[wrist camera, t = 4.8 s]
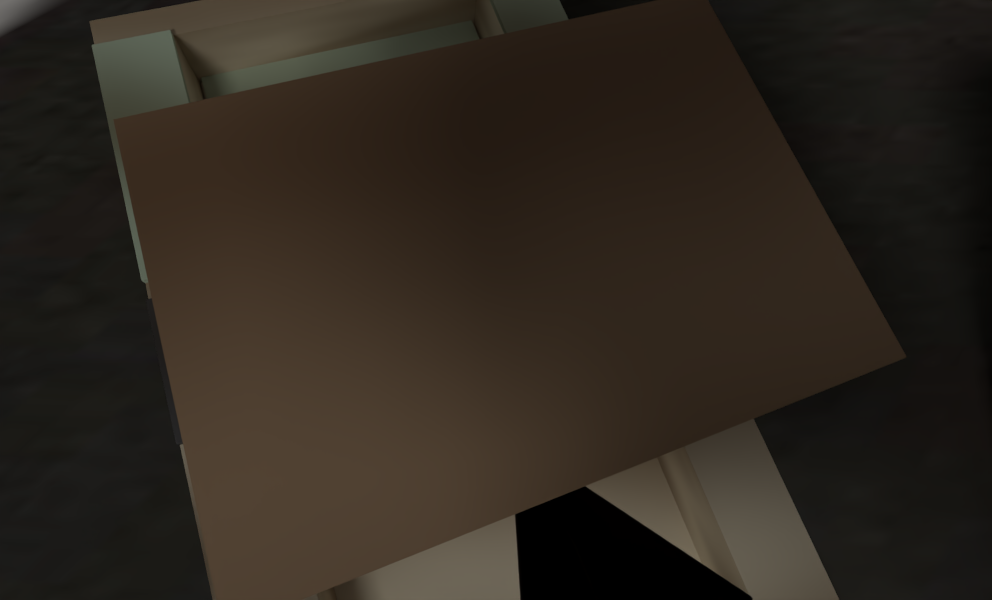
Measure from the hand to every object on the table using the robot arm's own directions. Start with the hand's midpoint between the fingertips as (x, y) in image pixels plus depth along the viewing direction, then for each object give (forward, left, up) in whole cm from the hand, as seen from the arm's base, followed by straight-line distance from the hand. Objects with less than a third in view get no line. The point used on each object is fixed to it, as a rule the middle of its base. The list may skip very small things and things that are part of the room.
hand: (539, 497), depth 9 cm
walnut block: (+2, +2, -6) cm, 6 cm away
